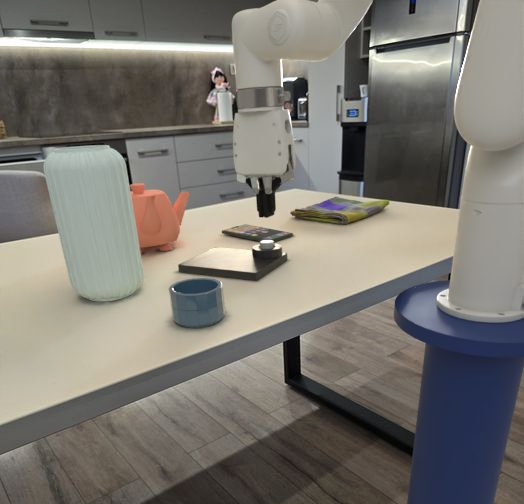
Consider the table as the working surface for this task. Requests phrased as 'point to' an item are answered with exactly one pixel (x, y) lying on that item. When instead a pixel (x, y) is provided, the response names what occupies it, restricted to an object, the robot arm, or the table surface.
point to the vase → (95, 221)
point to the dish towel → (340, 210)
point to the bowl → (197, 302)
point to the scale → (235, 262)
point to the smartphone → (257, 233)
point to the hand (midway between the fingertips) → (266, 215)
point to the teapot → (157, 216)
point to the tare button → (266, 244)
